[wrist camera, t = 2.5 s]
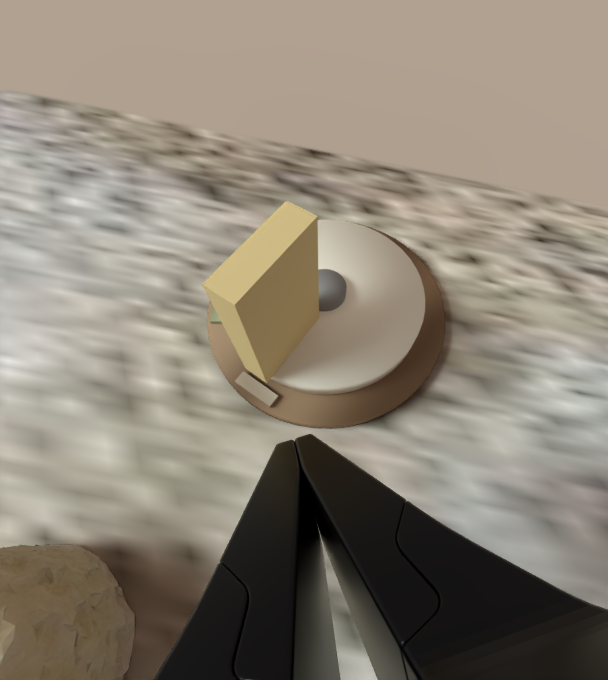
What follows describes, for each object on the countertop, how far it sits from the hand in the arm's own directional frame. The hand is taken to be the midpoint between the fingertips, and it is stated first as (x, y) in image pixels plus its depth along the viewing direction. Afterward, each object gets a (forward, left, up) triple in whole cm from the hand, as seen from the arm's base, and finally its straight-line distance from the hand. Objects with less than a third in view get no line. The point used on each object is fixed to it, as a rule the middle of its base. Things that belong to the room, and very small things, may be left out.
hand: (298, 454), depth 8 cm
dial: (+6, -8, -9) cm, 13 cm away
